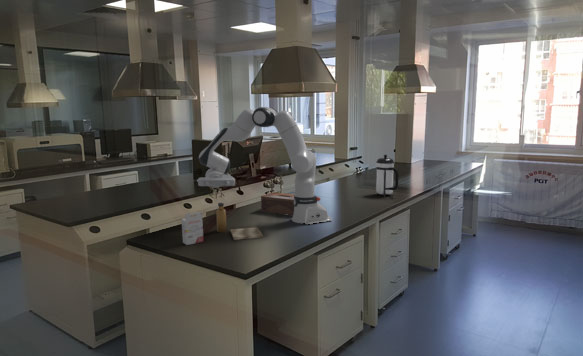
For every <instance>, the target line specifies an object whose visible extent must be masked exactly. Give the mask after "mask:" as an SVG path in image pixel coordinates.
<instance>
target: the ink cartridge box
mask: <svg viewBox="0 0 583 356" xmlns="http://www.w3.org/2000/svg"><path fill="white" fill-rule="evenodd" d="M203 226H204V225H203V216H202V211H195V212H191V213H184V217H183V218H181V233H182V244H185V246H189V245H194V244H198V243H203V242H204V228H203Z"/></svg>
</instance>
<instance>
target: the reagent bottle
mask: <svg viewBox="0 0 583 356" xmlns="http://www.w3.org/2000/svg"><path fill="white" fill-rule="evenodd" d="M224 204H225V203H224V202H218V203H217V207H218V209H216V210H215V211H216V212H215V213H216V232H217V233H224V232H227V210H226V209H225V208H224Z"/></svg>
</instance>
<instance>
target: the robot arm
mask: <svg viewBox="0 0 583 356" xmlns="http://www.w3.org/2000/svg"><path fill="white" fill-rule="evenodd" d="M256 126H257V127H259V128H270V127H274V128H275V129H276V130H277V132H278V135H279V136H280V138H281V140H282V142H283V144H284V147H285V149H286V151H287V154H288V157H289V161H290V163H291V167H292V169H293V170H294V172H296V173H295V179H294V194H295V196H294V213H293V216H292V217H291V218H292V219H291V221H292V222H294V223H295V224H303V223H305V225H308V224H310V225H314V224H313V223H317V224H320V223H319V222H324V223H327V222H326V221H331V220H332V221H333V219H332V216H330V215H329V213H328V210H327V209H326V207H325V206H323V204H321V203H320V201H321V197H320V196H316V195H315V181H316V180H315V179H316V169H317V157H316V155H315V153H313V152H312V151H310V150H309V149H308V148H307V145H306V143H305V137H304V136H303V134H302V132H301V130H300V128H299V126H298V124H297V122H296V120H295V119H294V118H293V116H292V115H291V113H290V112H289V111H288V110H281V111H280V110H279V112H278V111H277V110H276V109H275V108H273V107H268V106H263V107H262V106H261V107H258V108H256V109H255V110H253V109H251V108H245V109H244V110H242V111H241V113H240V114H239V115H238V116H237V118H236V119H235V121H234V122H233V123H232V125H230V126H228V127H224V128H223V129H221V130H220V131H219V132H218V133H217V134H216V136H214V138H213V139H212V140H211V141H210V143H208V145H207V146H206V147H204V149H203V150H202V151H200V153H199V155H198V161H199V163H200V165H202V166H205V167H208V168H209V169H208V170H207V171H206V172H205V175H204V176H205V177H198V179H196V182H197V185H198V187H211V188H214V189H216V188H220V187H234V186H236V178H234V177H233V176H231V174H230V173H229V171H230V169H231V161H230V159H229V158H228V157H227V156H224V155H221V153H218V152H216V151H215V150H216V149H217V148H218V147H219V145H220V144H221V143H222V142H225V141H229V142H230V141H231V142H239V143H240V142H243V141H246V140H247V139H248V138H249V137H250V135H251V134H252V132H253V130H254V129H255V128H256ZM332 221H331V222H332Z"/></svg>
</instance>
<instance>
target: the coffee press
mask: <svg viewBox="0 0 583 356" xmlns="http://www.w3.org/2000/svg"><path fill="white" fill-rule="evenodd" d="M394 165H395V161H394V159H392V158H391V157H388V155H387V154H384V155H383V157H379V158H378V159H377V160H376V172H375V173H376V175H375V177H376V178H375V192H374V193H377V194H379V195H382V196H383V195H385V196H386V195H392V194H395V192H394V191H396V190H397V189H398V187H399V171H398V169H397V168H396V167H395V166H394ZM394 175H395V176H394ZM394 178H395V179H394ZM394 180H395V184H394Z"/></svg>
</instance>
